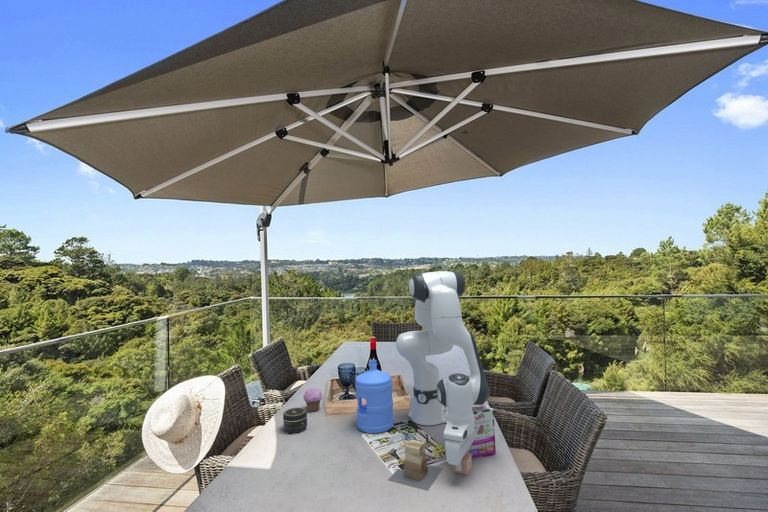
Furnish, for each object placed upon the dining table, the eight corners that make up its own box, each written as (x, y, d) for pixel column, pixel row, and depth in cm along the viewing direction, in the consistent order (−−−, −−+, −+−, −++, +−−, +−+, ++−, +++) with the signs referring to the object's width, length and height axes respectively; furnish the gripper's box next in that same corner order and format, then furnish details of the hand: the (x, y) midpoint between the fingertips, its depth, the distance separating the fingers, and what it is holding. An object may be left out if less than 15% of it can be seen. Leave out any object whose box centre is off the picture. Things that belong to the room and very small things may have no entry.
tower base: (411, 467, 141) (410, 453, 141) (427, 471, 138) (427, 456, 138) (404, 476, 136) (403, 461, 136) (420, 480, 133) (420, 465, 133)
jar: (294, 436, 169) (293, 418, 169) (278, 431, 175) (277, 413, 175) (312, 427, 177) (311, 409, 177) (296, 422, 183) (295, 405, 183)
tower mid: (411, 454, 140) (411, 439, 140) (425, 457, 138) (424, 442, 138) (405, 461, 136) (404, 446, 136) (419, 464, 134) (418, 449, 134)
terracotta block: (457, 465, 142) (457, 450, 142) (471, 468, 140) (471, 453, 140) (452, 472, 138) (452, 457, 138) (467, 475, 136) (467, 460, 135)
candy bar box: (489, 448, 153) (487, 404, 153) (496, 454, 149) (494, 409, 148) (461, 453, 150) (459, 408, 150) (467, 460, 146) (466, 413, 145)
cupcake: (302, 408, 199) (301, 388, 199) (319, 405, 203) (318, 384, 202) (306, 415, 191) (305, 393, 191) (325, 411, 195) (324, 390, 194)
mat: (405, 460, 147) (405, 459, 147) (443, 469, 140) (443, 468, 140) (387, 481, 134) (387, 480, 134) (427, 491, 128) (427, 490, 128)
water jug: (395, 418, 183) (392, 355, 183) (392, 434, 168) (389, 365, 167) (360, 418, 185) (357, 356, 184) (354, 434, 169) (351, 366, 169)
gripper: (461, 411, 149) (462, 449, 150) (441, 435, 131) (443, 478, 132) (478, 414, 146) (479, 452, 147) (460, 439, 128) (462, 483, 129)
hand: (462, 465), depth 139 cm, fingers closed on terracotta block, 5 cm apart
